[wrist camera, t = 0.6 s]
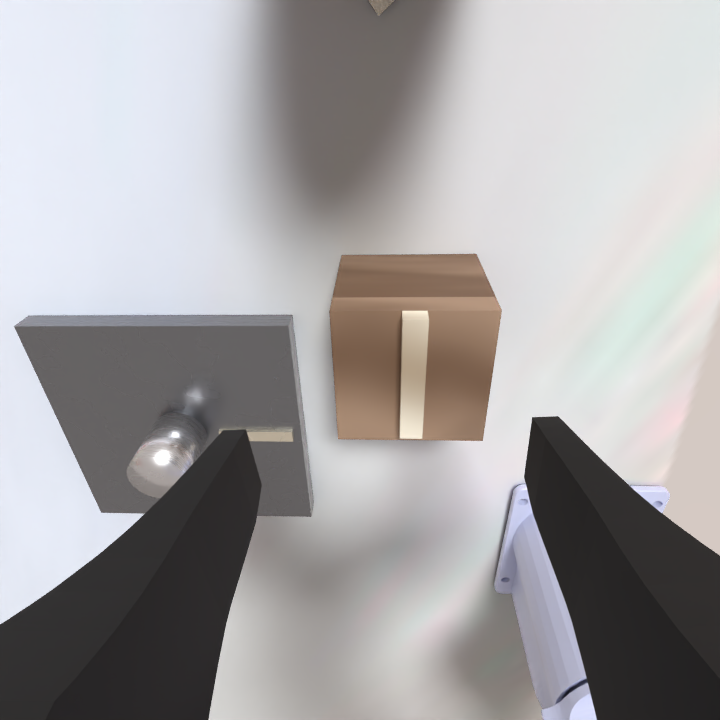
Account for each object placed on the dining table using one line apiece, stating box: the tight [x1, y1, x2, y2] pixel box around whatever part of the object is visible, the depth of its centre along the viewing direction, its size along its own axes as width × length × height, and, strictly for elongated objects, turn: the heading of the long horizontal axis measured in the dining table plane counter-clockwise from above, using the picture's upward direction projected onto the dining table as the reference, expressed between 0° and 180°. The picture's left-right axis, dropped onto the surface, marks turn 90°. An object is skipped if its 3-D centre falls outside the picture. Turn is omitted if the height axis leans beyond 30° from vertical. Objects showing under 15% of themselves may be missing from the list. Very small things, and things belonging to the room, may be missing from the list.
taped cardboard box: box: [330, 254, 502, 441], centre depth 18 cm, size 5×5×6 cm
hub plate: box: [14, 315, 314, 517], centre depth 23 cm, size 12×12×4 cm
